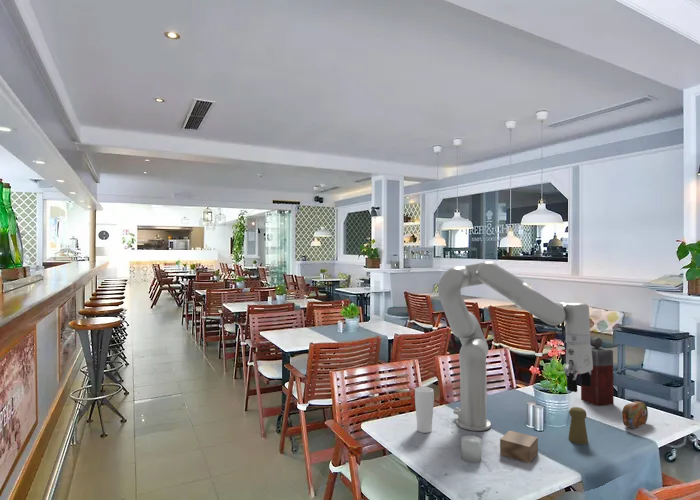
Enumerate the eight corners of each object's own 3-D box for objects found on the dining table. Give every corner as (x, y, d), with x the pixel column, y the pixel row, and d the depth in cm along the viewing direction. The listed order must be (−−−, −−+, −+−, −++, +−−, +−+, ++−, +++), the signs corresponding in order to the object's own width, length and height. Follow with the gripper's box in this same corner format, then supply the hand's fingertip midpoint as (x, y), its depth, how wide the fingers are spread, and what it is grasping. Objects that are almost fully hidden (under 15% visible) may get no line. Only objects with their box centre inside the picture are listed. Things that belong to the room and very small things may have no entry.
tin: (629, 431, 157) (629, 407, 157) (620, 428, 159) (620, 405, 159) (648, 422, 165) (648, 400, 165) (639, 420, 167) (639, 398, 168)
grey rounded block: (457, 457, 135) (457, 438, 136) (469, 452, 139) (469, 434, 139) (473, 465, 131) (473, 445, 131) (485, 459, 134) (485, 440, 134)
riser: (500, 454, 137) (500, 439, 137) (509, 445, 144) (509, 430, 144) (529, 463, 132) (529, 446, 132) (537, 453, 139) (537, 437, 139)
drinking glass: (425, 436, 152) (425, 393, 152) (411, 430, 157) (411, 388, 157) (437, 431, 156) (437, 389, 156) (423, 425, 161) (423, 385, 162)
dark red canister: (592, 396, 196) (592, 334, 197) (613, 404, 186) (613, 339, 186) (576, 397, 194) (576, 335, 194) (597, 406, 183) (596, 340, 184)
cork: (590, 444, 145) (590, 411, 145) (571, 443, 146) (571, 410, 146) (584, 437, 151) (584, 405, 151) (566, 436, 152) (565, 404, 152)
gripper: (576, 343, 141) (578, 396, 141) (600, 337, 151) (602, 386, 151) (554, 340, 147) (555, 390, 147) (578, 334, 157) (580, 381, 157)
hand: (579, 388), depth 149 cm, fingers open, 9 cm apart
